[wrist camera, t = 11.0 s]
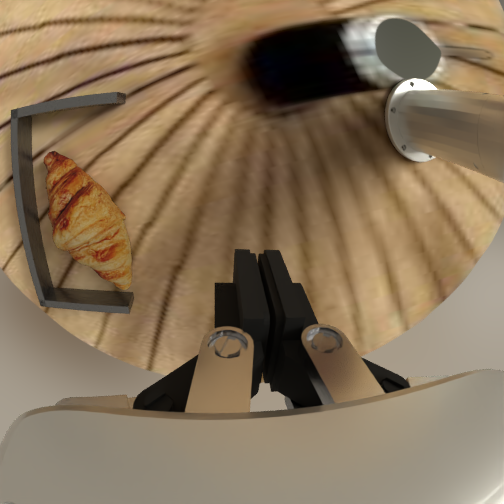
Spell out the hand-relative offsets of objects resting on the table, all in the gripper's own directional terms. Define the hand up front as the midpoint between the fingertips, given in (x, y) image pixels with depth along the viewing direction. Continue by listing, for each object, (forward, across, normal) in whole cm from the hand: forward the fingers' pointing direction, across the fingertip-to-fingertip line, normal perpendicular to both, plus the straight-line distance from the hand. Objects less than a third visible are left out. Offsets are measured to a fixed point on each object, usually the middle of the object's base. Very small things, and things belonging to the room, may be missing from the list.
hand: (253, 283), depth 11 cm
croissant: (+25, +18, +7) cm, 32 cm away
